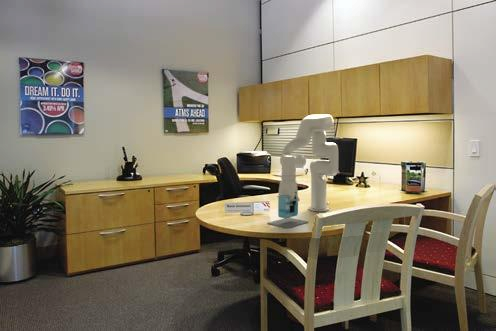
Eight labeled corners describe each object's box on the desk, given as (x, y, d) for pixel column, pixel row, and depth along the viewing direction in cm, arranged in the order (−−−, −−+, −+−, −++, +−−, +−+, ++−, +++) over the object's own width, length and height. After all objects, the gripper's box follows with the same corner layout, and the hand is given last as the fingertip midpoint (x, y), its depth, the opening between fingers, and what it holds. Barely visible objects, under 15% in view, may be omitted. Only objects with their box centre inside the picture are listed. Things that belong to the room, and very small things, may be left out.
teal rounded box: (284, 219, 208) (284, 196, 207) (277, 217, 211) (278, 195, 210) (298, 215, 216) (298, 193, 215) (291, 214, 220) (291, 192, 218)
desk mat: (288, 218, 225) (288, 217, 225) (308, 222, 215) (308, 221, 215) (267, 223, 213) (267, 222, 213) (287, 228, 203) (287, 227, 203)
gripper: (272, 177, 215) (272, 210, 217) (296, 180, 203) (296, 215, 205) (281, 176, 220) (280, 208, 222) (305, 179, 208) (305, 213, 210)
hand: (288, 211), depth 213 cm, fingers closed on teal rounded box, 4 cm apart
